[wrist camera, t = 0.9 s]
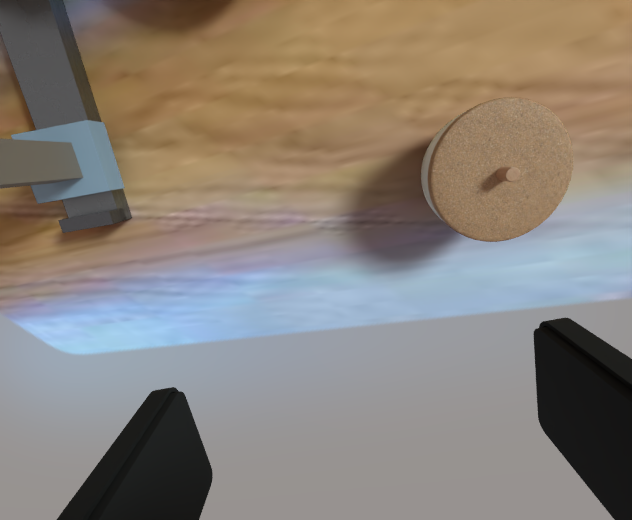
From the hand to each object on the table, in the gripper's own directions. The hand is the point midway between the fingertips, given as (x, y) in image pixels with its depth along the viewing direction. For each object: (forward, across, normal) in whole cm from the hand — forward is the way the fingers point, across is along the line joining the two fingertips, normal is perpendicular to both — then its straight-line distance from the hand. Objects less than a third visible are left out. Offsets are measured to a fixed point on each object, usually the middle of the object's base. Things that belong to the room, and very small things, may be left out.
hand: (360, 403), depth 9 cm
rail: (+28, +22, -15) cm, 39 cm away
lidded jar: (+28, -13, -2) cm, 31 cm away
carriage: (+26, +22, -11) cm, 36 cm away
